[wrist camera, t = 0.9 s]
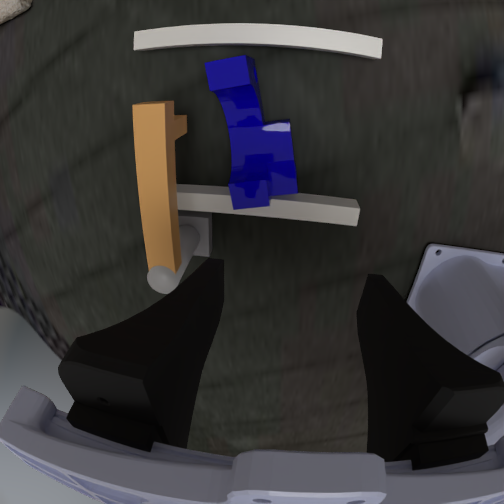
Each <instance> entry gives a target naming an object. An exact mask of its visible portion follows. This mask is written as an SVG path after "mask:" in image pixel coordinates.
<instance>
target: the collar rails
mask: <svg viewBox="0 0 504 504" xmlns="http://www.w3.org/2000/svg"><path fill="white" fill-rule="evenodd" d="M222 45H242V46H271V47H287V48H299V49H309V50H318V51H326V52H333V53H340V54H347V55H353V56H359V57H364V58H369V59H381V53H382V39H380V38H376V37H371V36H366V35H360V34H355V33H349V32H343V31H336V30H329V29H321V28H313V27H303V26H291V25H276V24H245V23H234V24H202V25H187V26H176V27H166V28H157V29H150V30H143V31H136V32H134V50H141V51H146V50H155V49H165V48H177V47H192V46H222ZM176 188H177V205H178V220H179V227H180V226H183V225H188V226H191V227H193V228H195V229H196V230H197V231H198V233H199V236H200V241H199V244H198V246H197V248H196V250H195V251H194V253H193V255H196V256H206V257H210V254H211V252H212V250H213V247H212V212H217V213H229V214H241V215H253V216H264V217H275V218H285V219H295V220H305V221H315V222H324V223H333V224H342V225H351V226H357V222H358V217H359V212H360V207H359V205H358V203H357V200H356V199H348V198H340V197H331V196H323V195H314V194H304V193H298V194H288V195H277V196H272V198H271V203H270V206H267V207H257V208H247V209H238V210H233V206H232V201H231V196H230V191H229V187H222V186H206V185H189V184H176Z"/></svg>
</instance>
